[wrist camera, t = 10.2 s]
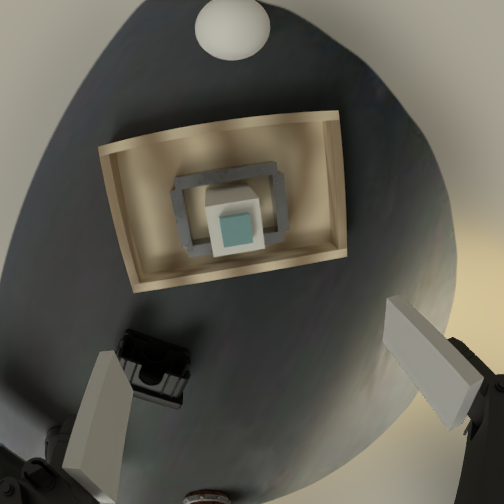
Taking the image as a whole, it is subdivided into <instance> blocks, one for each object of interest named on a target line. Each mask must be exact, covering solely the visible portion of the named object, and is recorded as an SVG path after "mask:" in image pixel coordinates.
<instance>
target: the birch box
mask: <svg viewBox="0 0 504 504" xmlns="http://www.w3.org/2000/svg"><path fill="white" fill-rule="evenodd" d="M98 151H99V156H100V162H101V167H102V172H103V177H104V182H105V187H106V191H107V196H108V200H109V205H110V209H111V213H112V218H113V222H114V226H115V230H116V234H117V237H118V241H119V245H120V249H121V252H122V256H123V259H124V263H125V266H126V270H127V273H128V276H129V280H130V283H131V286H132V289H133V292H134V293H138V292H144V291H151V290H157V289H164V288H170V287H176V286H182V285H188V284H194V283H201V282H207V281H213V280H219V279H224V278H230V277H236V276H242V275H248V274H254V273H259V272H265V271H271V270H276V269H282V268H288V267H293V266H299V265H304V264H310V263H315V262H320V261H326V260H331V259H337V258H342V257H347V226H346V199H345V180H344V165H343V152H342V140H341V129H340V119H339V110H337V111H314V112H299V113H286V114H274V115H264V116H255V117H247V118H239V119H231V120H224V121H217V122H211V123H204V124H198V125H193V126H187V127H182V128H176V129H171V130H166V131H161V132H156V133H152V134H147V135H143V136H138V137H134V138H130V139H126V140H122V141H118V142H114V143H110V144H106V145H102V146H99V147H98ZM266 161H274V162H277V170H278V171H280V172H282V173H284V180H285V190H286V199H287V209H288V220H289V230H287V231H284V237H285V242H280V243H274V244H268V245H265V249H260V250H254V251H248V252H242V253H236V254H230V255H224V256H218V257H214V256H213V254H208V255H202V256H196V257H191V258H189V255H188V250H187V247H185V248H181V245H180V240H179V235H178V231H177V226H176V221H175V216H174V211H173V206H172V201H171V196H170V190H171V189H172V188H175V184H174V177H175V176H178V175H183V174H189V173H194V172H200V171H206V170H212V169H218V168H224V167H231V166H238V165H244V164H251V163H259V162H266ZM244 183H248V185H249V186H250V187H251V189H252V190H253V191H254V193H255V194H256V195H257V196H258V198H259V203H260V211H261V219H262V228H267V227H273V226H274V217H273V208H272V199H271V191H270V182H269V175H268V176H261V177H254V178H247V179H241V180H234V181H228V182H221V183H215V184H209V185H203V186H198V187H192V188H186V189H184V194H185V199H186V205H187V210H188V215H189V221H190V226H191V231H192V236H193V240H195V239H201V238H207V237H210V234H209V229H208V223H207V217H206V212H205V190H206V189H212V188H218V187H224V186H231V185H237V184H244Z"/></svg>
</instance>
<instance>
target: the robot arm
mask: <svg viewBox="0 0 504 504" xmlns="http://www.w3.org/2000/svg"><path fill="white" fill-rule="evenodd" d="M383 343H384V345H385V346H386V347H387V349H388V350H389V351H390V352H391V354H392V355H393V356H394V358H395V359H396V360H397V362H398V363H399V364H400V366H401V367H402V368H403V369H404V371H405V372H406V373H407V375H408V376H409V377H410V379H411V380H412V381H413V383H414V384H415V385H416V387H417V388H418V389H419V391H420V392H421V393H422V395H423V396H424V398H425V399H426V400H427V402H428V403H429V404H430V406H431V407H432V408H433V410H434V411H435V413H436V414H437V415H438V417H439V418H440V419H441V421H442V422H443V424H444V425H445V427H446V428H447V429H448V431H450V430H452V429H453V428H455V427H457V426H459V425H461V424H463V422H464V420H465V418H466V416H467V415H468V416H469V417H470V419H471V420H470V422H469V424H468V426H467V428H466V430H465V431H464V434H463V435H466V433H467V432H468V436H467V443H466V450H465V456H464V461H463V467H462V472H461V477H460V482H459V486H458V490H457V494H456V499H455V502H454V504H504V374H498V375H495V374H494V373H493V372H492V371H491V370H490V369H489V368H488V367H487V366H486V365H485V364H484V363H483V362H482V361H481V360H480V359H479V358H478V357H477V356H475V354H474V353H473V352H472V351H471V350H469V348H468V347H467V346H466V345H465V344H464V343H463V342H462V341H460V340H458V339H456V338H454V337H452V338H449V339H446V338H445V337H444V336H443V335H442V334H441V333H440V332H439V331H438V330H437V329H436V328H435V327H434V326H433V325H432V324H431V323H430V322H429V321H428V320H426V319H425V318H424V317H423V316H422V315H421V314H420V313H419V312H418V311H417V310H416V309H415V308H414V307H413V306H412V305H411V304H410V303H409V302H408V301H406V300H405V299H404V298H403V297H402V296H401V295H400V294H399V295H396V296H392V297H389V298H387V303H386V314H385V324H384V333H383ZM133 392H134V391H133V389H132V387H131V385H130V383H129V381H128V379H127V377H126V375H125V373H124V371H123V369H122V367H121V365H120V363H119V360H118V358H117V356H116V354H115V352H114V350H112V351H102V352H99V355H98V358H97V360H96V363H95V366H94V368H93V371H92V374H91V376H90V379H89V382H88V385H87V388H86V390H85V393H84V396H83V399H82V402H81V405H80V408H79V411H78V414H77V415H69V416H68V417H67V418H66V420H65V421H64V422H63V424H62V427H56V428H52V429H50V430H49V431H48V433H47V436H46V439H45V458H46V461H45V460H44V459H42V458H32V459H30V460H28V461H25V460H24V459H22V458H21V457H19V456H18V455H16V454H15V453H13V452H12V451H11V450H9V449H8V448H6V447H5V446H4V444H2V443H0V504H100V502H105V503H117V494H118V485H119V477H120V470H121V463H122V456H123V449H124V443H125V437H126V431H127V425H128V419H129V413H130V408H131V403H132V397H133Z"/></svg>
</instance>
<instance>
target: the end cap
mask: <svg viewBox="0 0 504 504" xmlns="http://www.w3.org/2000/svg"><path fill="white" fill-rule="evenodd" d="M115 354H116V356H117V358H118V360H119V363H120V365H121V367H122V369H123V371H124V373H125V375H126V377H127V379H128V381H129V383H130V385H131V387H132V389H133V391H134V392H133V396H134V397H137V398H140V399H143V400H146V401H149V402H153V403H156V404H159V405H163V406H166V407H170V408H173V409H179V408H180V407H181V405H182V404H183V390H184V388H185V386H186V384H187V382H188V380H189V378H190V376H191V375H190V373H189V372H190V371H188V369H189V367H190V365H191V362H190V357H189V351H188V350H187V349H185V348H182V347H179V346H176V345H173V344H170V343H167V342H164V341H161V340H158V339H155V338H153V337H150V336H147V335H144V334H142V333H139V332H136V331H134V330H131V329H127V330H126V331H125V334H124V337H123V338H122V339H121V340H120V344H119V347H118V350H117V351H116V352H115Z"/></svg>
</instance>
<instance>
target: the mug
mask: <svg viewBox="0 0 504 504" xmlns="http://www.w3.org/2000/svg"><path fill="white" fill-rule="evenodd" d="M230 503H231V501H230V500H229V499H228V496H227V495H225V494H223V493H221V492H217V491H214V492H212V491H206V490H205V491H196V492H193V493H189V494H187V495H186V497H185V499H184V501H183V504H230Z"/></svg>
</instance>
